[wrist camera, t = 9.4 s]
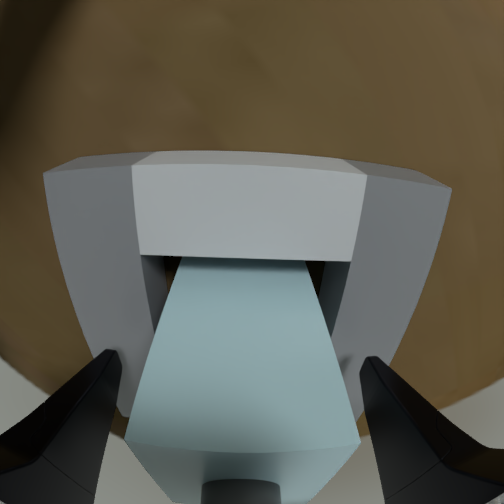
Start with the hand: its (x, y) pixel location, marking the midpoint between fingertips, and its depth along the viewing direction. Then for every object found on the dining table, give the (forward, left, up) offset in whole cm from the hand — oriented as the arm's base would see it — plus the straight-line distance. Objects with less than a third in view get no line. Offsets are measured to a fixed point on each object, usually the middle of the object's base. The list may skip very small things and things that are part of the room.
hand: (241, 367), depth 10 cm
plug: (0, 0, -4) cm, 4 cm away
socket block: (0, 0, -4) cm, 4 cm away
